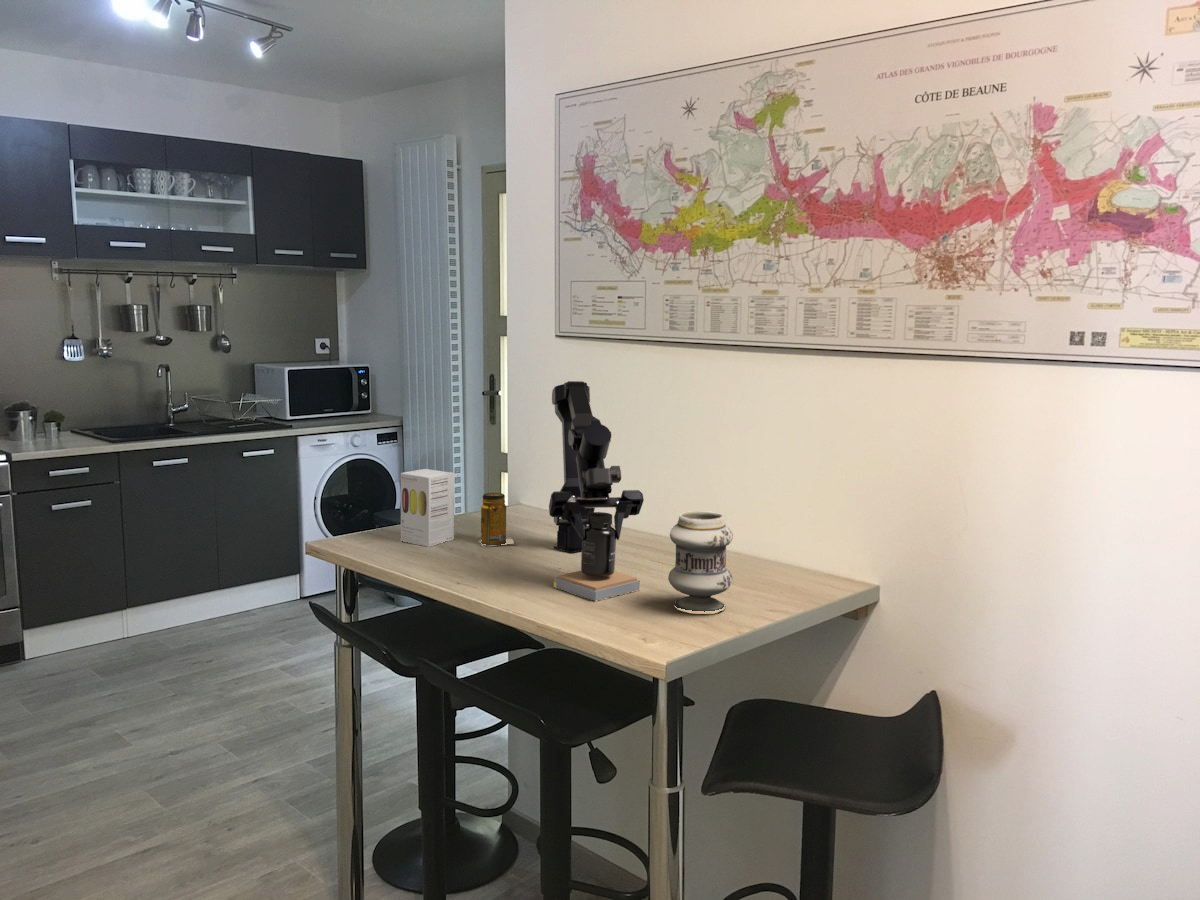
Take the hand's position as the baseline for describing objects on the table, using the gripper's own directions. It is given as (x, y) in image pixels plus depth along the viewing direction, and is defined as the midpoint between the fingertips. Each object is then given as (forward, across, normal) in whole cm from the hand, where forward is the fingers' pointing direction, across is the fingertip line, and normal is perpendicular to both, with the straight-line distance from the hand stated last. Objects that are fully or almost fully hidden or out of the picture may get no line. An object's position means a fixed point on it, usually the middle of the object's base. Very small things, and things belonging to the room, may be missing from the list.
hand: (601, 539), depth 185 cm
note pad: (+7, 0, +9) cm, 11 cm away
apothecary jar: (+17, +17, -1) cm, 24 cm away
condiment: (-22, -17, +39) cm, 48 cm away
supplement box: (-25, -33, +41) cm, 59 cm away
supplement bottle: (+4, 0, +6) cm, 8 cm away
